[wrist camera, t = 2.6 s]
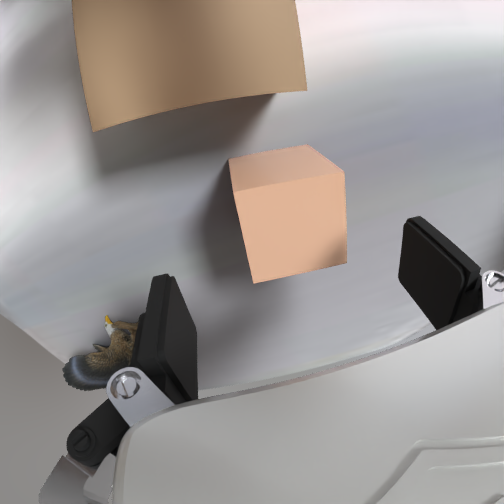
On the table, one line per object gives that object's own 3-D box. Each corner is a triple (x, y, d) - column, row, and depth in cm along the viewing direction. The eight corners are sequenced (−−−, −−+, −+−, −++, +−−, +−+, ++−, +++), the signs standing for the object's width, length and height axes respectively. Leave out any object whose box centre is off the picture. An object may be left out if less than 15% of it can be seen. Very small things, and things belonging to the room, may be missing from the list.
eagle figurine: (95, 280, 20) (50, 347, 21) (130, 363, 16) (75, 420, 17) (162, 298, 26) (112, 352, 28) (200, 362, 23) (141, 412, 24)
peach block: (307, 144, 18) (344, 171, 13) (314, 214, 20) (346, 262, 15) (228, 158, 18) (233, 192, 13) (243, 229, 20) (253, 283, 15)
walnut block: (258, -40, 11) (277, -83, 6) (278, 88, 16) (307, 90, 11) (110, -10, 11) (70, -39, 6) (130, 116, 16) (93, 132, 11)
